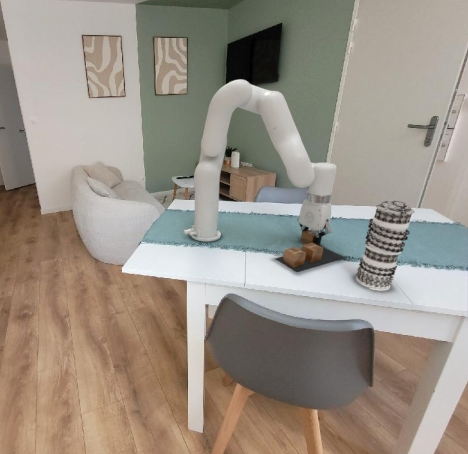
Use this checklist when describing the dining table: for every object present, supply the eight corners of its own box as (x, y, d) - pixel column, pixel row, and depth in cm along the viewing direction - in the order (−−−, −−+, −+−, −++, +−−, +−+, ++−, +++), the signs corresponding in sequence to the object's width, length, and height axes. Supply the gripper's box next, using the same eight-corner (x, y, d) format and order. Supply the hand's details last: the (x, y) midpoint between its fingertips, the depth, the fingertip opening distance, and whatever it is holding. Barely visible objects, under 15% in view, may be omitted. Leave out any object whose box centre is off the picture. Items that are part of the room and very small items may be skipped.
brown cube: (310, 262, 98) (313, 250, 96) (300, 256, 102) (302, 245, 100) (321, 259, 100) (323, 247, 98) (309, 254, 104) (312, 242, 102)
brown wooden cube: (293, 267, 96) (295, 255, 94) (282, 261, 100) (284, 249, 98) (303, 264, 97) (306, 252, 95) (293, 258, 101) (295, 246, 99)
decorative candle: (348, 273, 92) (367, 198, 82) (381, 275, 90) (404, 198, 81) (362, 290, 84) (385, 208, 74) (398, 292, 82) (427, 209, 72)
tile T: (310, 247, 109) (312, 235, 107) (300, 242, 113) (302, 231, 111) (319, 244, 111) (321, 233, 109) (309, 239, 115) (311, 229, 113)
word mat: (296, 273, 93) (297, 272, 93) (274, 259, 102) (274, 258, 102) (345, 258, 100) (346, 257, 100) (320, 247, 109) (321, 246, 109)
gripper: (292, 193, 111) (285, 236, 118) (332, 206, 96) (321, 254, 103) (307, 190, 113) (299, 233, 120) (348, 202, 99) (337, 250, 106)
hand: (310, 242), depth 112 cm, fingers open, 4 cm apart
